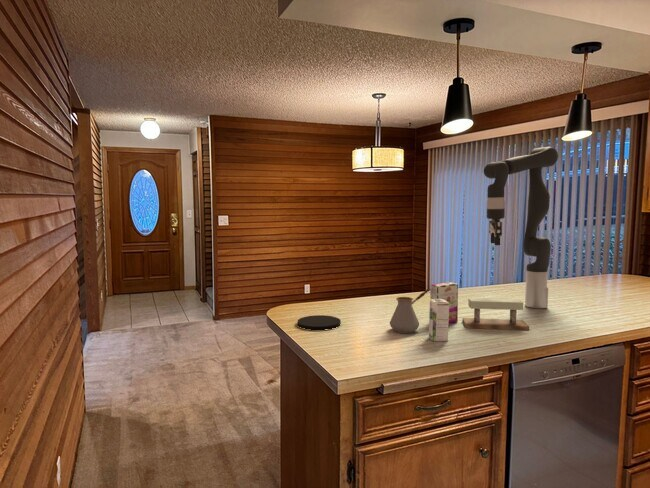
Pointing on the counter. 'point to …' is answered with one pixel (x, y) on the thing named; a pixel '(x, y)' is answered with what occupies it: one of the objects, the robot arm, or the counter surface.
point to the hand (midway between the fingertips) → (495, 244)
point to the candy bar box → (447, 297)
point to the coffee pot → (405, 315)
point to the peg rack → (495, 322)
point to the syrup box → (438, 320)
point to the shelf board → (495, 304)
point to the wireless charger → (319, 322)
